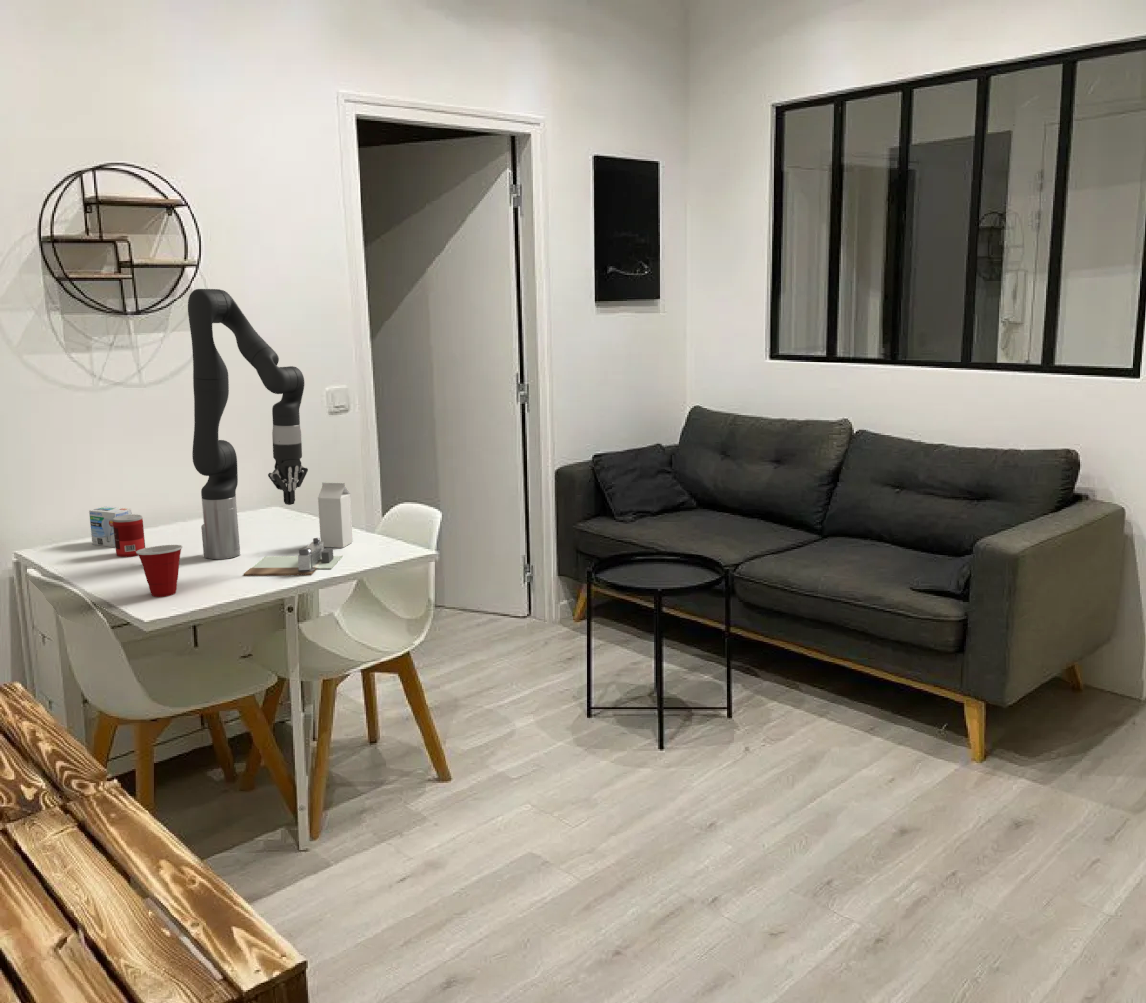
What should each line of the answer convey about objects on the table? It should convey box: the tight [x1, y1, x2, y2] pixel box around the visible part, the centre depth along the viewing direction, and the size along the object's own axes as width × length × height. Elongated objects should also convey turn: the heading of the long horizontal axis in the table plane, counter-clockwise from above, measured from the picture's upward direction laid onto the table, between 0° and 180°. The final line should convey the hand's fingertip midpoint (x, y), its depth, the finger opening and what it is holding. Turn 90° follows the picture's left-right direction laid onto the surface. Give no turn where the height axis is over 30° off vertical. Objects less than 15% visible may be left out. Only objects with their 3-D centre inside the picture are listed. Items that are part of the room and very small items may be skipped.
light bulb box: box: [88, 506, 133, 548], centre depth 303 cm, size 11×7×11 cm, turn 68°
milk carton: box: [317, 481, 354, 549], centre depth 298 cm, size 7×7×19 cm
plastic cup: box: [136, 544, 183, 598], centre depth 250 cm, size 11×11×12 cm
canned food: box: [113, 514, 146, 558], centre depth 291 cm, size 8×8×11 cm
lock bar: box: [297, 537, 325, 570], centre depth 275 cm, size 16×3×5 cm, turn 1°
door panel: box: [251, 555, 343, 570], centre depth 279 cm, size 22×13×1 cm, turn 90°
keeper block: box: [321, 547, 334, 563], centre depth 280 cm, size 2×5×4 cm, turn 0°
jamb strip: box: [243, 567, 318, 577], centre depth 270 cm, size 18×6×1 cm, turn 90°
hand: (289, 504), depth 273 cm, fingers closed
